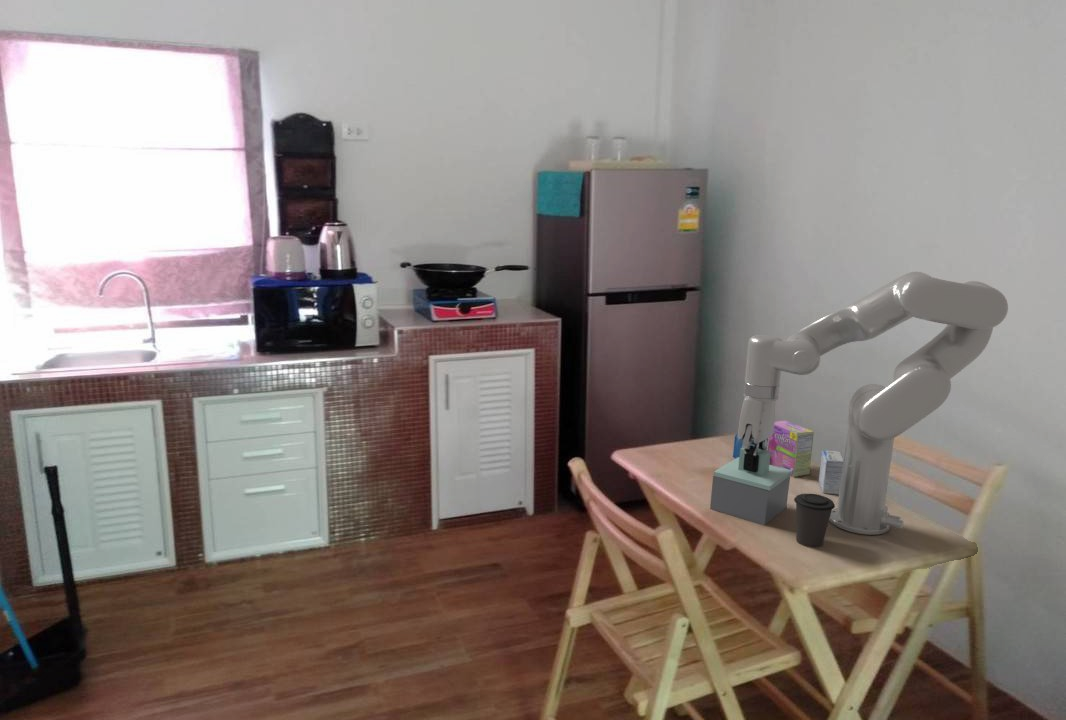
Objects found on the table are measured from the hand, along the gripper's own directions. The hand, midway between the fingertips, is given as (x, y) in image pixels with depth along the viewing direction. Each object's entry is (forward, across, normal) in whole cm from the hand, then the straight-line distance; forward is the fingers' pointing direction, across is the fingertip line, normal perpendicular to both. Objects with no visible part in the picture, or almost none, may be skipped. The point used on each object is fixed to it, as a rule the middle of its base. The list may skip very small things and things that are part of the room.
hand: (753, 468), depth 186 cm
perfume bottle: (+10, -33, -14) cm, 37 cm away
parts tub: (+10, 0, 0) cm, 10 cm away
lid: (+3, 0, 0) cm, 3 cm away
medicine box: (+10, -26, +10) cm, 29 cm away
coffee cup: (+10, +8, +17) cm, 21 cm away
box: (+10, -32, -3) cm, 34 cm away
